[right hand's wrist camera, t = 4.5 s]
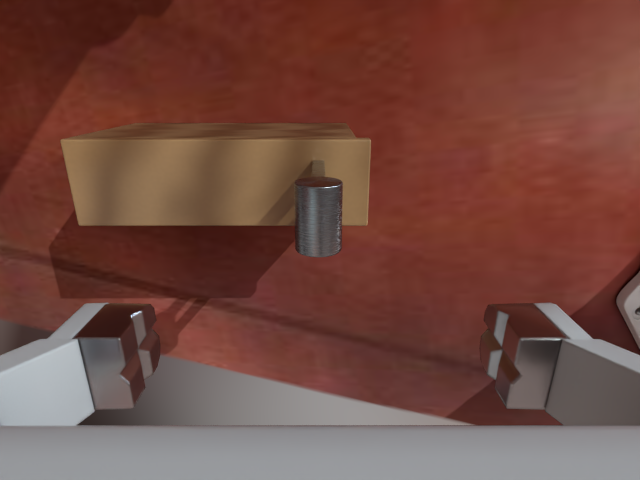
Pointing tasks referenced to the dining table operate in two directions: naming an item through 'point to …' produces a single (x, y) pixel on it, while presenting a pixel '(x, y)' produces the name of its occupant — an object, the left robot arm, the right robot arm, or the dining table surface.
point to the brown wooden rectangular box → (225, 130)
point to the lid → (224, 184)
